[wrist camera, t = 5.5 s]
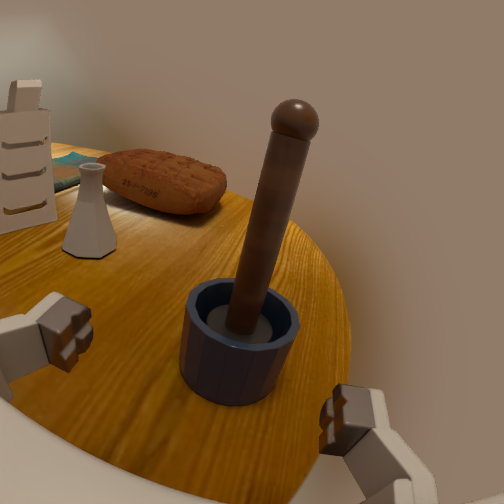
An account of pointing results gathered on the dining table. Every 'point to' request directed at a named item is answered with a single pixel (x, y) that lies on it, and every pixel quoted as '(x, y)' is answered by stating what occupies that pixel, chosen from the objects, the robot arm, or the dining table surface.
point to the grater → (25, 158)
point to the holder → (233, 347)
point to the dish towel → (68, 169)
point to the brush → (267, 224)
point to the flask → (90, 217)
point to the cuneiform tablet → (163, 180)
